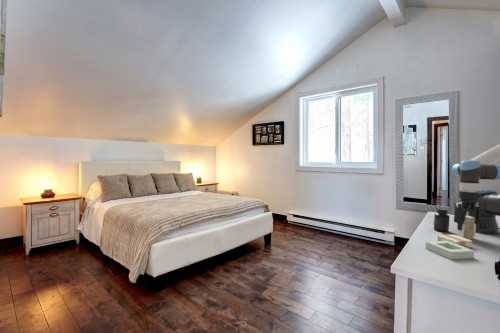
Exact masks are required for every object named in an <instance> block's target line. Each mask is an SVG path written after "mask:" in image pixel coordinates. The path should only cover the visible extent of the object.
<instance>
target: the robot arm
mask: <svg viewBox="0 0 500 333" xmlns="http://www.w3.org/2000/svg"><path fill="white" fill-rule="evenodd" d="M499 161H500V143H499V144H497V145H495V146H494V147H491V148H489V149H488V150H486V151H483V152H482V153H480V154H479V155H477V156H475V157H472V158H471V159H469V160H462V161H461V162H460V163H455V164H454V165H453V166H452V168H451V172H452V174H453V175H454V176H456V177H459V190H458V191H459V192H458V198H459V202H454V216H453V223H456V224H457V226H456V230H457V236H460V237H464V229H465V224H463V223H464V220H465V217H466V216H471V217H475V221H474V238H476V233H481V234H488V235H489V234H491V235H498V234H500V227H499V224H498V221H497V217H496V216H498V217H500V192H499V193H498V190H496V189H480V181H481V180H491V181H494V180H495V181H496V180H500V164H496V163H497V162H499Z"/></svg>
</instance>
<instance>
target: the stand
mask: <svg viewBox="0 0 500 333" xmlns="http://www.w3.org/2000/svg"><path fill="white" fill-rule="evenodd" d="M437 241H449V242H452V243H454V244H457V245H460V246H463V247H465V248H468V249H469V248H473V240H472V239H470V240H468V239H465V238H462V237H459V236H458V235H456V234H438V235H437Z"/></svg>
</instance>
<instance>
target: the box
mask: <svg viewBox="0 0 500 333" xmlns="http://www.w3.org/2000/svg"><path fill="white" fill-rule="evenodd" d="M474 221H475V217H471V216H467V215H466V217H465V220H464V223H463V224H465V229H464V237H462V238H465V239H468V240H473V239H474V238H475V237H474ZM459 237H460V236H459Z"/></svg>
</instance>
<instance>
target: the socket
mask: <svg viewBox="0 0 500 333" xmlns="http://www.w3.org/2000/svg"><path fill="white" fill-rule="evenodd" d="M425 249H426V250H429V251H431V252H432V253H435V254H438V255H440V256H442V257H444V258H447V259H450V260H463V259H475V250H473V249H470V248H469V247H468V248H465V247H463V246H460V245H457V244H454V243H452V242H449V241H438V240H436V241H435V240H434V241H426V242H425Z"/></svg>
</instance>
